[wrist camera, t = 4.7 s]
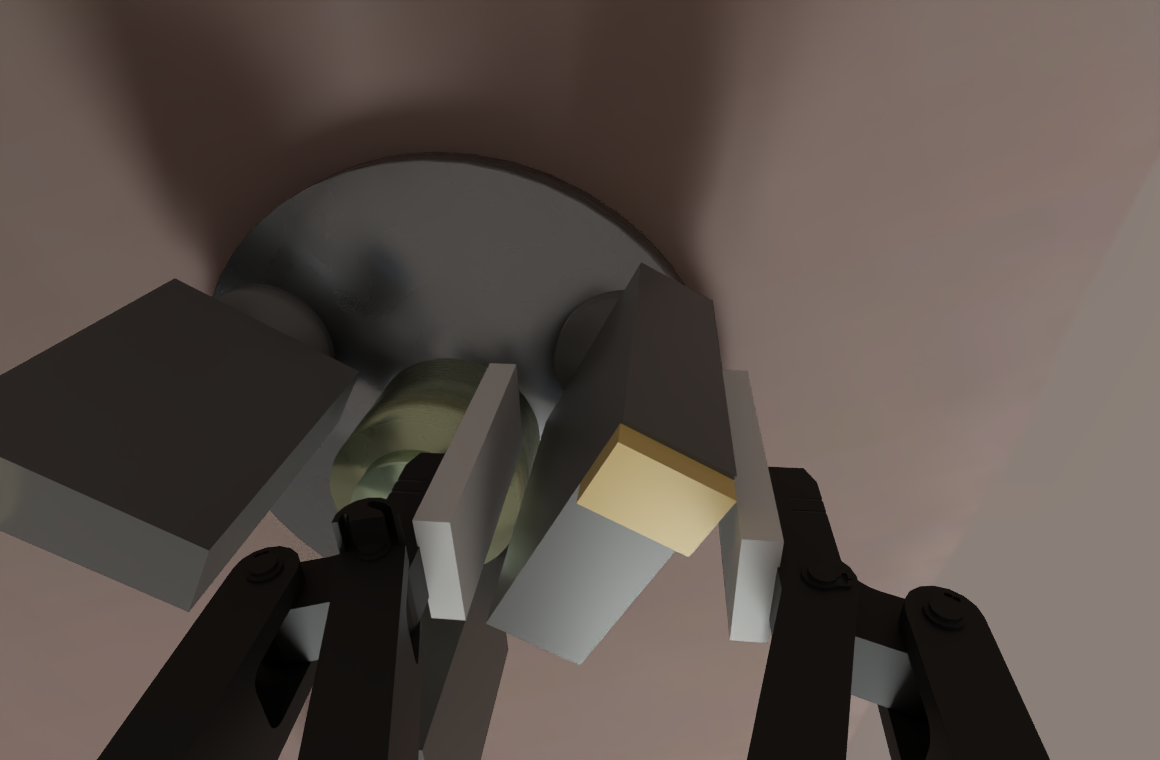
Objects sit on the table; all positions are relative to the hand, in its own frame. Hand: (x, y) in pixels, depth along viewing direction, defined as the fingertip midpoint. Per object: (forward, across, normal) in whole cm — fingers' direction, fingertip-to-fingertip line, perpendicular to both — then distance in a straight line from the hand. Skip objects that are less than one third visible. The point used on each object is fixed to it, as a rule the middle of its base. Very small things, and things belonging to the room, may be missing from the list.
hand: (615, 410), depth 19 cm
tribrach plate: (+5, -6, -4) cm, 9 cm away
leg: (+3, 0, 0) cm, 3 cm away
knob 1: (+3, -12, 0) cm, 13 cm away
